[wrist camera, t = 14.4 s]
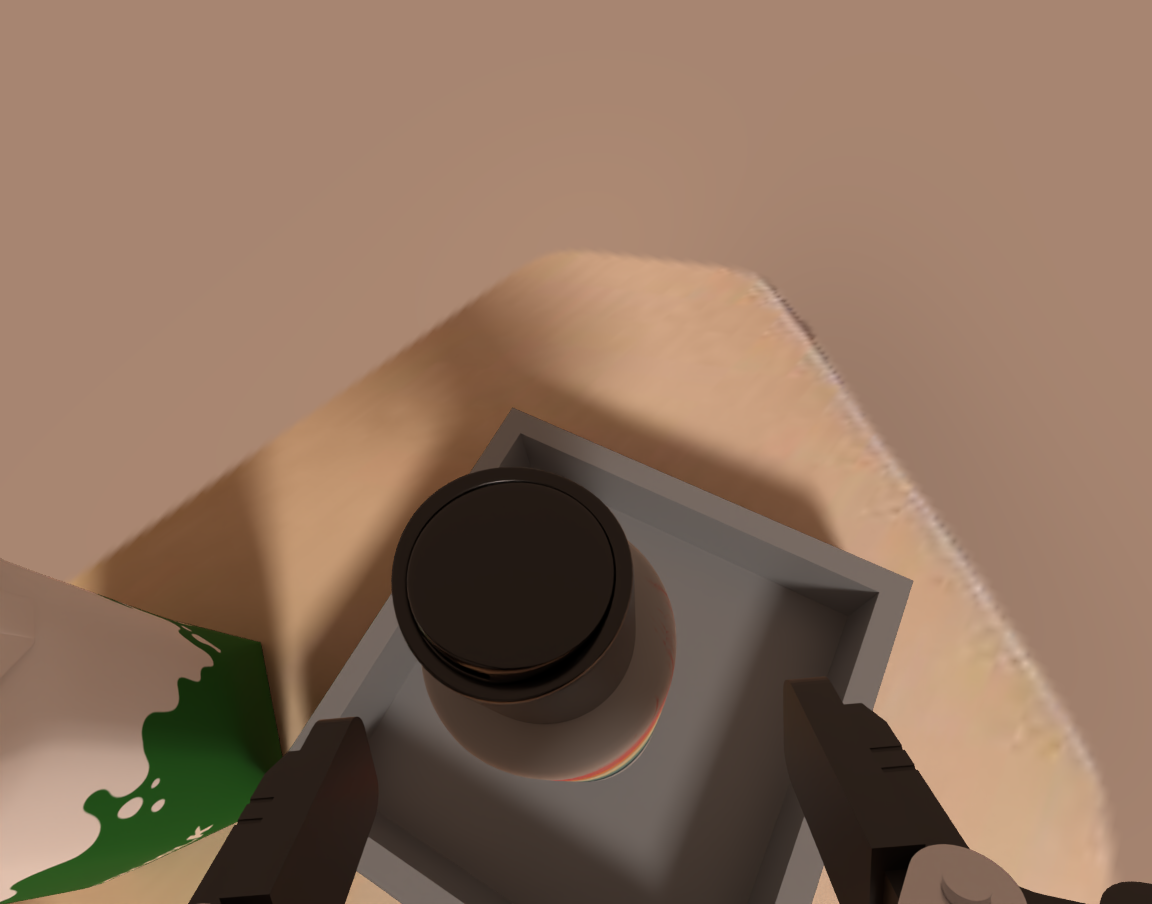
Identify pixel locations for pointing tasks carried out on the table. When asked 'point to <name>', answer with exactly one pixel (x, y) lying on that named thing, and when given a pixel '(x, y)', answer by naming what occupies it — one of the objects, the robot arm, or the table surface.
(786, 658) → the bin
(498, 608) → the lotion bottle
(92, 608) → the milk carton
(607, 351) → the table surface
